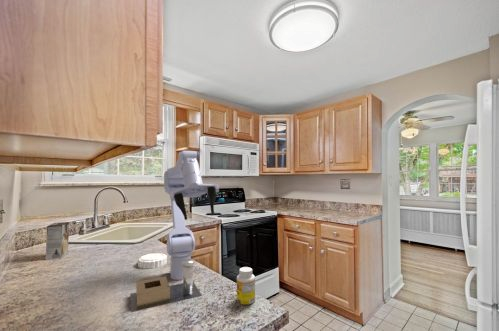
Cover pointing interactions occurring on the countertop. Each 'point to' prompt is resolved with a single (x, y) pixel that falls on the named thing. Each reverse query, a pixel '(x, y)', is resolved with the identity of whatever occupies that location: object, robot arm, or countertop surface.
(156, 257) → the mooncake
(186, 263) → the steel pin
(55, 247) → the coffee box
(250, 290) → the supplement bottle
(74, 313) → the countertop surface
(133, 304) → the clevis base
